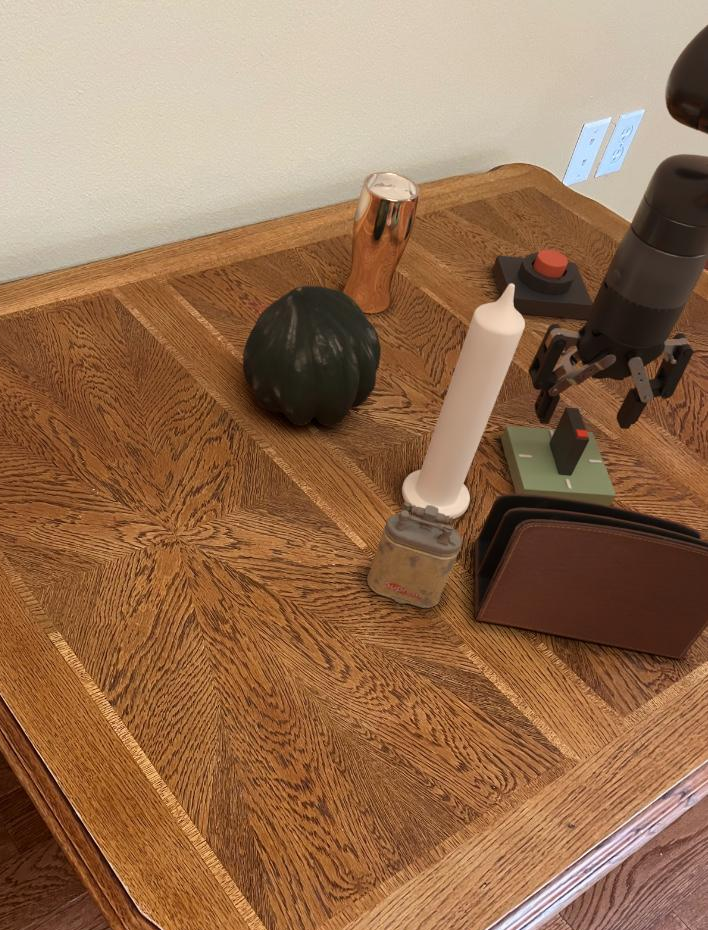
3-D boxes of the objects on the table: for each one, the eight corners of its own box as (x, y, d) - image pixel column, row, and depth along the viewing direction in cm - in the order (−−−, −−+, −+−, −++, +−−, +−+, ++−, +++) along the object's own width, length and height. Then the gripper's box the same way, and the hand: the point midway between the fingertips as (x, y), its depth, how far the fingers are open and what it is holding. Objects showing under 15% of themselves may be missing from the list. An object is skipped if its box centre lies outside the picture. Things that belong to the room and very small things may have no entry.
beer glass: (390, 320, 117) (420, 206, 106) (335, 309, 117) (359, 194, 106) (394, 290, 122) (423, 177, 110) (341, 280, 122) (364, 166, 110)
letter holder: (682, 662, 88) (762, 562, 77) (472, 622, 88) (522, 517, 77) (668, 582, 94) (740, 480, 83) (473, 545, 94) (519, 438, 83)
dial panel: (585, 445, 106) (593, 430, 104) (608, 508, 100) (617, 494, 98) (500, 439, 105) (506, 424, 103) (518, 502, 99) (524, 487, 97)
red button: (559, 263, 124) (564, 250, 122) (566, 280, 121) (571, 267, 120) (530, 260, 123) (534, 247, 122) (536, 277, 121) (541, 265, 119)
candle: (459, 530, 95) (545, 318, 76) (393, 506, 96) (462, 292, 77) (474, 487, 99) (560, 276, 80) (411, 465, 101) (481, 251, 81)
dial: (548, 442, 102) (566, 405, 98) (561, 443, 103) (579, 406, 98) (558, 474, 99) (577, 436, 95) (571, 475, 99) (590, 438, 95)
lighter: (442, 587, 90) (473, 514, 82) (435, 616, 88) (466, 544, 80) (371, 565, 91) (394, 491, 83) (362, 593, 88) (385, 519, 81)
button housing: (569, 277, 129) (580, 250, 126) (587, 320, 123) (599, 293, 119) (491, 269, 128) (501, 242, 125) (505, 312, 121) (516, 285, 118)
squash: (419, 356, 104) (354, 235, 97) (372, 437, 95) (297, 310, 88) (319, 389, 113) (253, 281, 106) (267, 465, 105) (192, 353, 98)
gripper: (710, 264, 87) (637, 402, 100) (563, 252, 86) (507, 393, 98) (738, 312, 82) (658, 450, 95) (583, 299, 81) (522, 441, 94)
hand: (581, 421), depth 97 cm, fingers open, 8 cm apart
